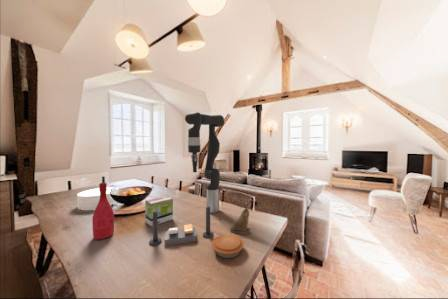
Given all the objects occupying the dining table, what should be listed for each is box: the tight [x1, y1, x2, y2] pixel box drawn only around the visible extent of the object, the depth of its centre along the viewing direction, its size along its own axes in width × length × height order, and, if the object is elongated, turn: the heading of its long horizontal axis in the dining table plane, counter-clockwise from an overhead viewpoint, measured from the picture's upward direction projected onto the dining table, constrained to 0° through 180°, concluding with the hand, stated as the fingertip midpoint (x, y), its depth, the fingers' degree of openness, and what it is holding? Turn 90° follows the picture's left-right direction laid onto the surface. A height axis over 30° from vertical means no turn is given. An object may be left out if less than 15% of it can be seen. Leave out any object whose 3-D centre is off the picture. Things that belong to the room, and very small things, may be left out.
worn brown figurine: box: [229, 204, 251, 236], centre depth 98 cm, size 12×6×18 cm, turn 68°
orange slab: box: [183, 223, 194, 234], centre depth 92 cm, size 4×6×1 cm
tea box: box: [144, 195, 174, 228], centre depth 112 cm, size 15×10×15 cm
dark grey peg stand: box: [202, 205, 214, 239], centre depth 94 cm, size 6×6×16 cm
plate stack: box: [76, 186, 119, 211], centre depth 143 cm, size 28×28×12 cm
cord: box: [148, 211, 162, 247], centre depth 87 cm, size 6×6×16 cm
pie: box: [211, 234, 244, 259], centre depth 81 cm, size 15×16×5 cm
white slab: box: [168, 227, 179, 234], centre depth 90 cm, size 4×6×1 cm
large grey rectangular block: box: [164, 227, 197, 246], centre depth 91 cm, size 16×9×4 cm, turn 105°
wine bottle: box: [91, 182, 115, 240], centre depth 93 cm, size 10×10×30 cm
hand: (194, 172), depth 105 cm, fingers closed
